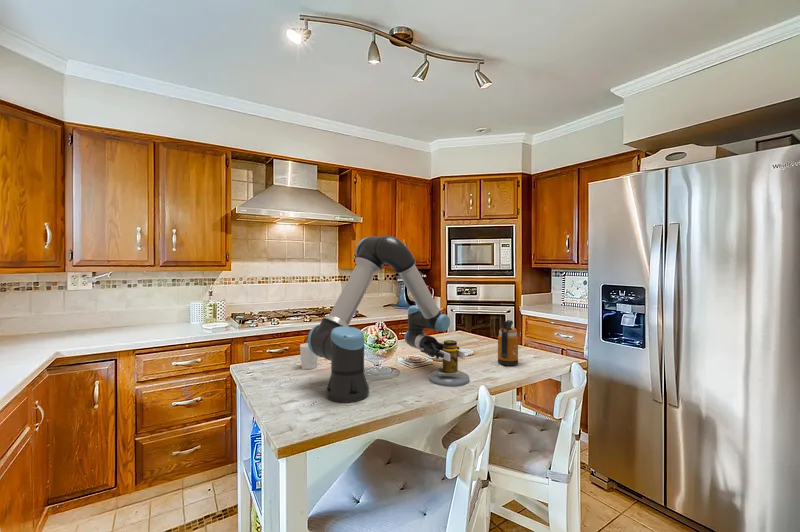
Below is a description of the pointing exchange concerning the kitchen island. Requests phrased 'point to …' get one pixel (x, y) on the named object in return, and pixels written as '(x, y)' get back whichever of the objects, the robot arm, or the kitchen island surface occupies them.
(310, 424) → the kitchen island surface
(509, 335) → the canister
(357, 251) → the robot arm
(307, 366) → the white cup
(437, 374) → the trivet
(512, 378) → the kitchen island surface
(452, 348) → the condiment
